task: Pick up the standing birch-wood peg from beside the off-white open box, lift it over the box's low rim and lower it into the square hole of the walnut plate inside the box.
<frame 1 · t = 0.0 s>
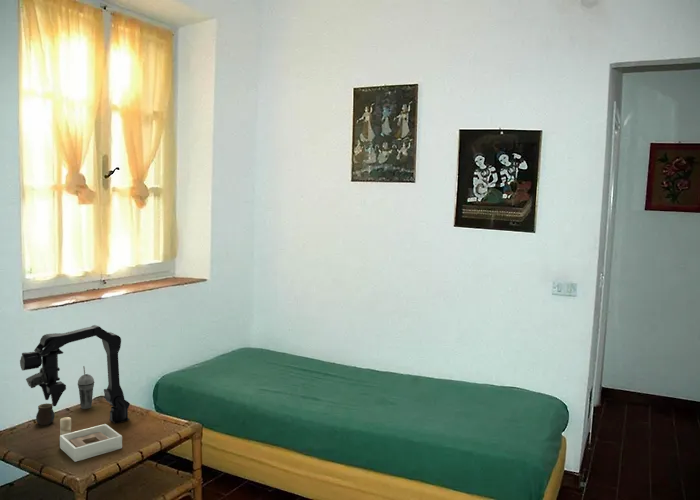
hand: (50, 402, 236), 15 cm above the table, tool pointing down, fingers open, 9 cm apart
bore plate: (91, 445, 229), resting on open box
beverage cup: (86, 407, 272), on the table
open box: (91, 447, 229), on the table
mate gourd: (46, 423, 252), on the table
peg: (65, 437, 238), on the table
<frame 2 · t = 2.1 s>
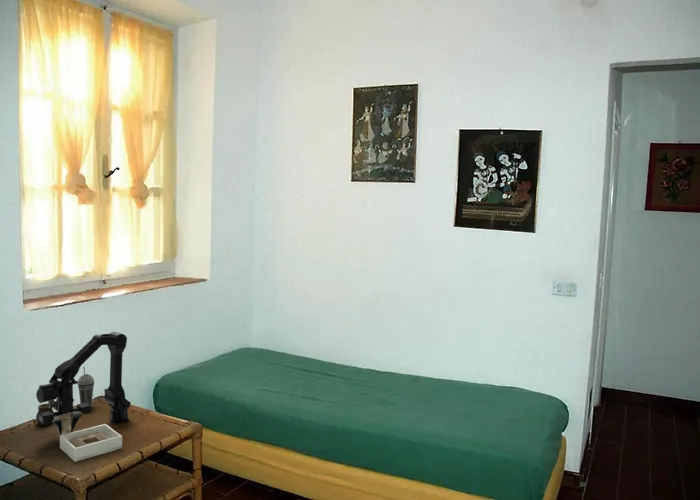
hand: (65, 433, 238), 2 cm above the table, tool pointing down, fingers closed on peg, 4 cm apart
peg: (65, 437, 238), on the table, touching gripper
everything else where it was.
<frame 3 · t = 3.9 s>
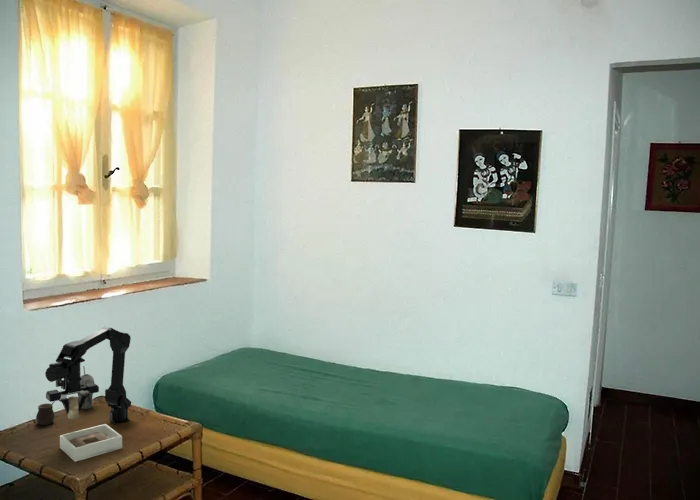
hand: (73, 412, 234), 12 cm above the table, tool pointing down, fingers closed on peg, 4 cm apart
peg: (73, 417, 234), point 10 cm above the table, touching gripper
everything else where it was.
when the fingers open (4 cm above the table, at t = 6.1 s): peg stays where it is, resting on open box.
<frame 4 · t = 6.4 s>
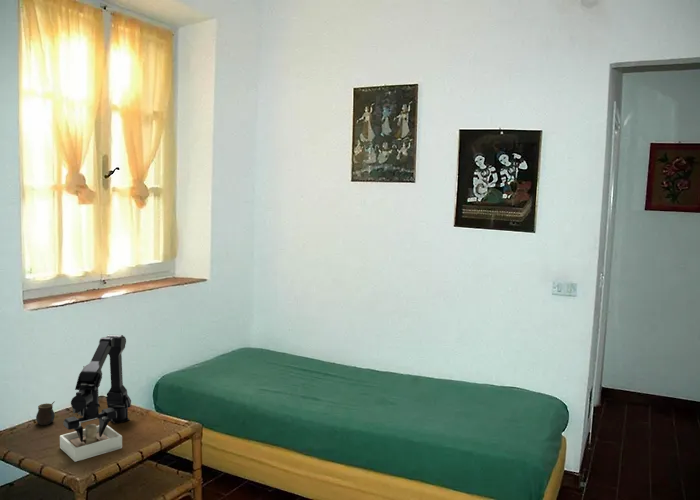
hand: (91, 439, 229), 4 cm above the table, tool pointing down, fingers open, 7 cm apart
peg: (91, 445, 229), point 1 cm above the table, touching open box
everything else where it was.
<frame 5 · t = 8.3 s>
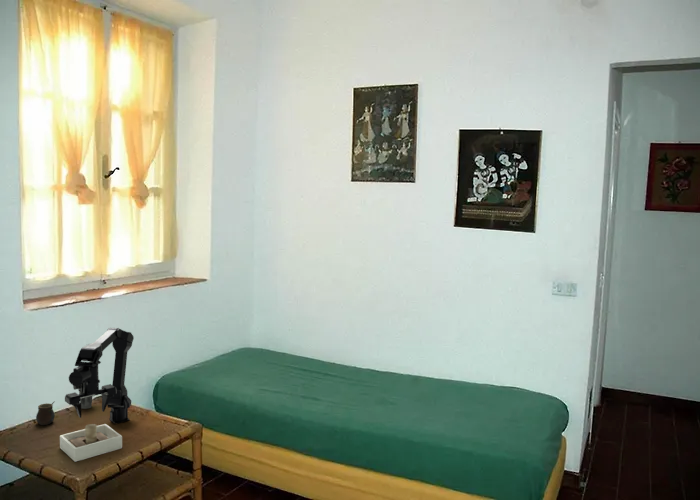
hand: (91, 414, 236), 11 cm above the table, tool pointing down, fingers open, 9 cm apart
nothing on the table moved.
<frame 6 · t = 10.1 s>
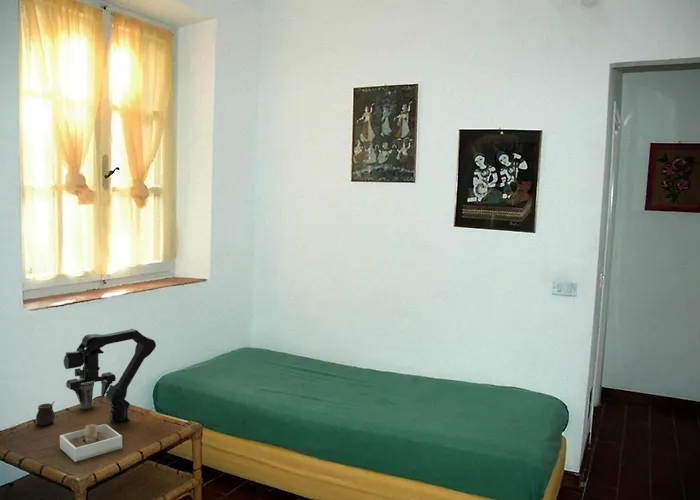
hand: (91, 400, 248), 12 cm above the table, tool pointing down, fingers open, 9 cm apart
nothing on the table moved.
at the end: peg 0.0 cm off-centre on the bore plate, point 0.0 cm above the bore plate's base; peg tilted 0°; the gripper is holding nothing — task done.
